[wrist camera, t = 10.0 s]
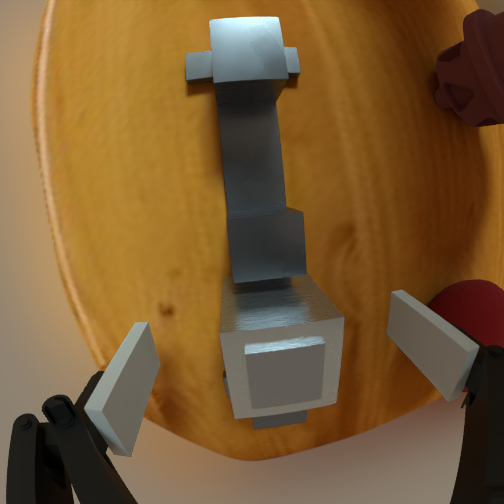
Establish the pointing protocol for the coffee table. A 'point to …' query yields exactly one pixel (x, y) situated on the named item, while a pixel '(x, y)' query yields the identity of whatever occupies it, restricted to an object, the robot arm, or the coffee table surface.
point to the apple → (474, 310)
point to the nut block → (280, 345)
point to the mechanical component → (474, 71)
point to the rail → (254, 154)
